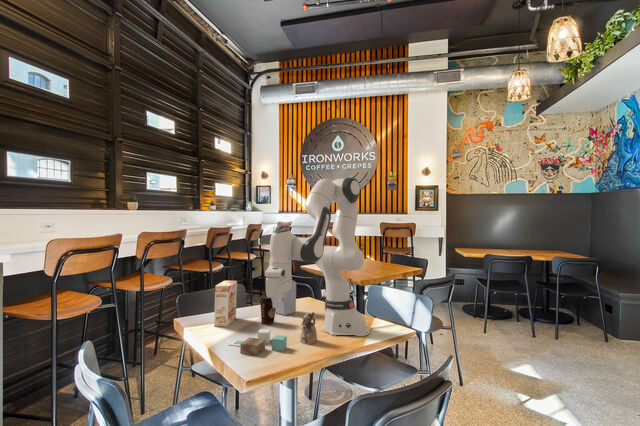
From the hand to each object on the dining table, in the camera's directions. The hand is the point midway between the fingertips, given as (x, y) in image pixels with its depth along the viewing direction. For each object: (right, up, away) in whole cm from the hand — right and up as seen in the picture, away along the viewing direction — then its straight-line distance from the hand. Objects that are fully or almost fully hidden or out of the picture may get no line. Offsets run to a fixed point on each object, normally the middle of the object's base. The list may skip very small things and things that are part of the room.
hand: (279, 304), depth 133 cm
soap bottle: (-3, -19, +52) cm, 55 cm away
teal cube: (0, -18, -1) cm, 18 cm away
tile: (-17, -17, +5) cm, 25 cm away
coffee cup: (-10, -18, +33) cm, 39 cm away
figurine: (+11, -18, +8) cm, 23 cm away
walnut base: (-10, -18, -3) cm, 20 cm away
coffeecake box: (-31, -18, +34) cm, 49 cm away
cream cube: (-7, -18, +7) cm, 21 cm away
